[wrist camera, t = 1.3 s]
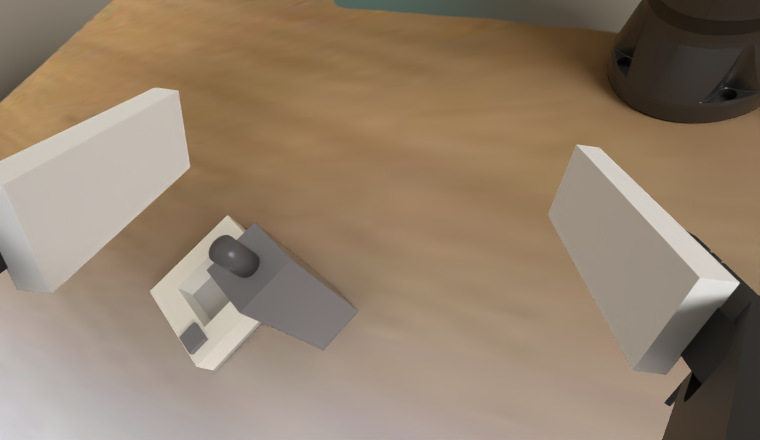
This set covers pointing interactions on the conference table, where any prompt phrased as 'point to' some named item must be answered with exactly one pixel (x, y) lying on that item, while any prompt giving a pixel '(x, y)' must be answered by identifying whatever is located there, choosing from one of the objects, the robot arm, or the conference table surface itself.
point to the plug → (278, 287)
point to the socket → (203, 305)
